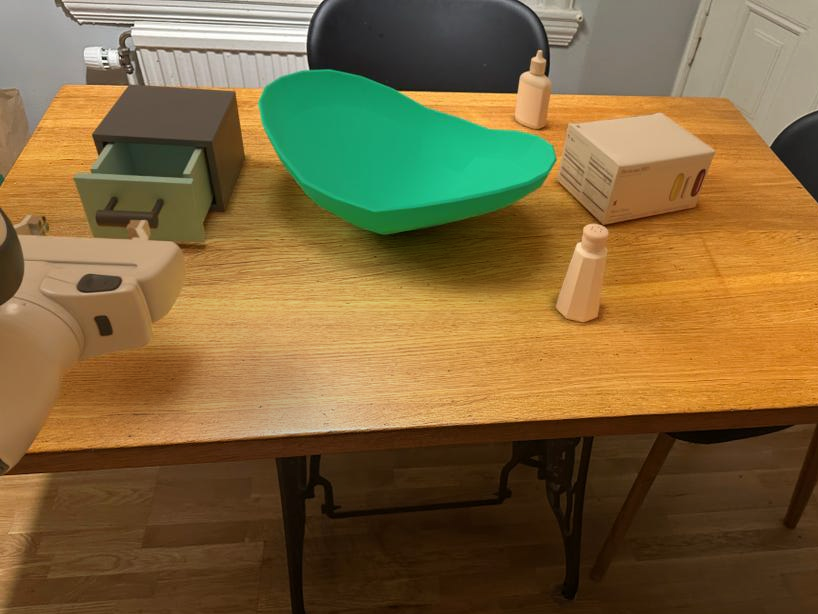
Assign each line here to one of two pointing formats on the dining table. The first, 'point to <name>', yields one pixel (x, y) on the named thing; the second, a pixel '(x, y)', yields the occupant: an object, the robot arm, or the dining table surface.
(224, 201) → the mini chest of drawers
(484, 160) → the table top decor
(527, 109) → the eye dropper bottle
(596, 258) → the salt shaker
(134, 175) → the drawer
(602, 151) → the supplement box
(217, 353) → the dining table surface
